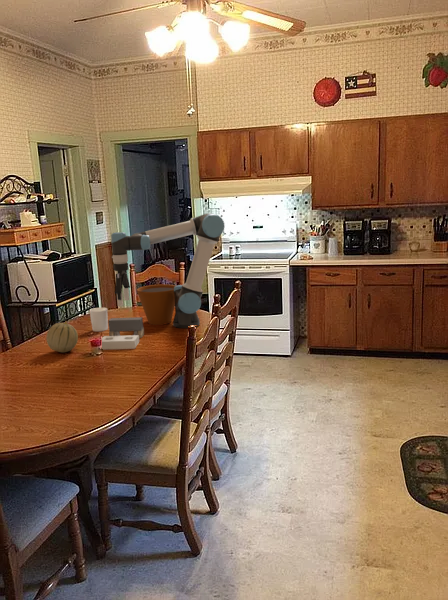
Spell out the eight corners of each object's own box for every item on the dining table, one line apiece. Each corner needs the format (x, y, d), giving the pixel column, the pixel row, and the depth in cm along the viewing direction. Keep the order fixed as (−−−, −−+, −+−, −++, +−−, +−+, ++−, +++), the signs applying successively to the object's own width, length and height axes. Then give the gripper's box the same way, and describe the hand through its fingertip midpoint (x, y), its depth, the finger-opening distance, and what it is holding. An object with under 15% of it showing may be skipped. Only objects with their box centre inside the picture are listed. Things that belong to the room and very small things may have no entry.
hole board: (139, 342, 270) (138, 335, 269) (135, 348, 261) (134, 340, 260) (104, 343, 271) (103, 336, 271) (99, 349, 262) (98, 341, 261)
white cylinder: (107, 332, 293) (105, 311, 291) (89, 332, 294) (87, 311, 291) (111, 327, 303) (109, 307, 301) (94, 328, 303) (91, 307, 301)
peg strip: (143, 334, 283) (142, 317, 281) (141, 337, 278) (140, 319, 277) (112, 335, 284) (110, 318, 282) (109, 338, 280) (108, 320, 278)
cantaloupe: (41, 354, 258) (37, 324, 255) (63, 346, 271) (60, 317, 267) (64, 357, 251) (60, 327, 248) (85, 349, 264) (82, 319, 261)
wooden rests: (144, 335, 284) (143, 327, 283) (141, 338, 278) (141, 331, 277) (112, 336, 285) (111, 328, 284) (109, 339, 279) (108, 331, 278)
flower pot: (136, 319, 320) (134, 286, 316) (175, 314, 327) (173, 282, 322) (142, 328, 298) (140, 293, 293) (184, 323, 304) (182, 289, 300)
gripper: (119, 259, 286) (122, 298, 290) (106, 266, 261) (110, 308, 266) (133, 259, 285) (135, 297, 290) (121, 266, 261) (125, 308, 265)
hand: (123, 303), depth 278 cm, fingers open, 13 cm apart
